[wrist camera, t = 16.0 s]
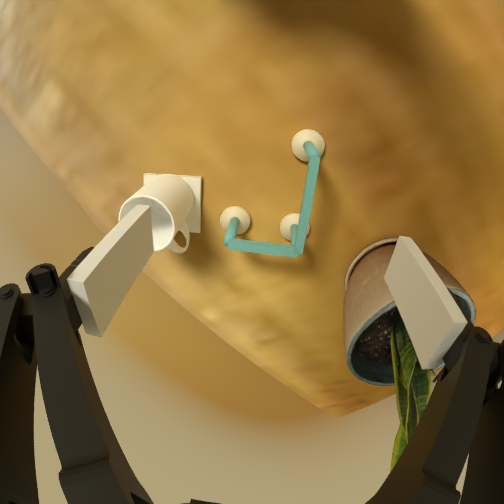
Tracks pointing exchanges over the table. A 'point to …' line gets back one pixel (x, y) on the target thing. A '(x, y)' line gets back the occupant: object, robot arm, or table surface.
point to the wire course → (293, 224)
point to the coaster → (195, 186)
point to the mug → (164, 209)
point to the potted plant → (389, 335)
